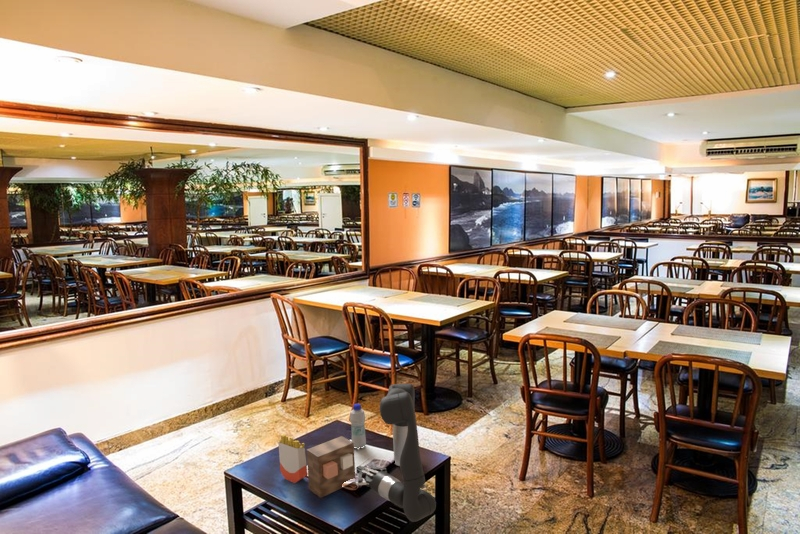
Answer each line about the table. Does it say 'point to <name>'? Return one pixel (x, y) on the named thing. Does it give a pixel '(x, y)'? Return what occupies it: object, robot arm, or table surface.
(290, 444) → the french fries container
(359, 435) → the bottle
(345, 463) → the ivory key
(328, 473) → the terracotta key
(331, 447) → the key panel
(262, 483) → the table surface
